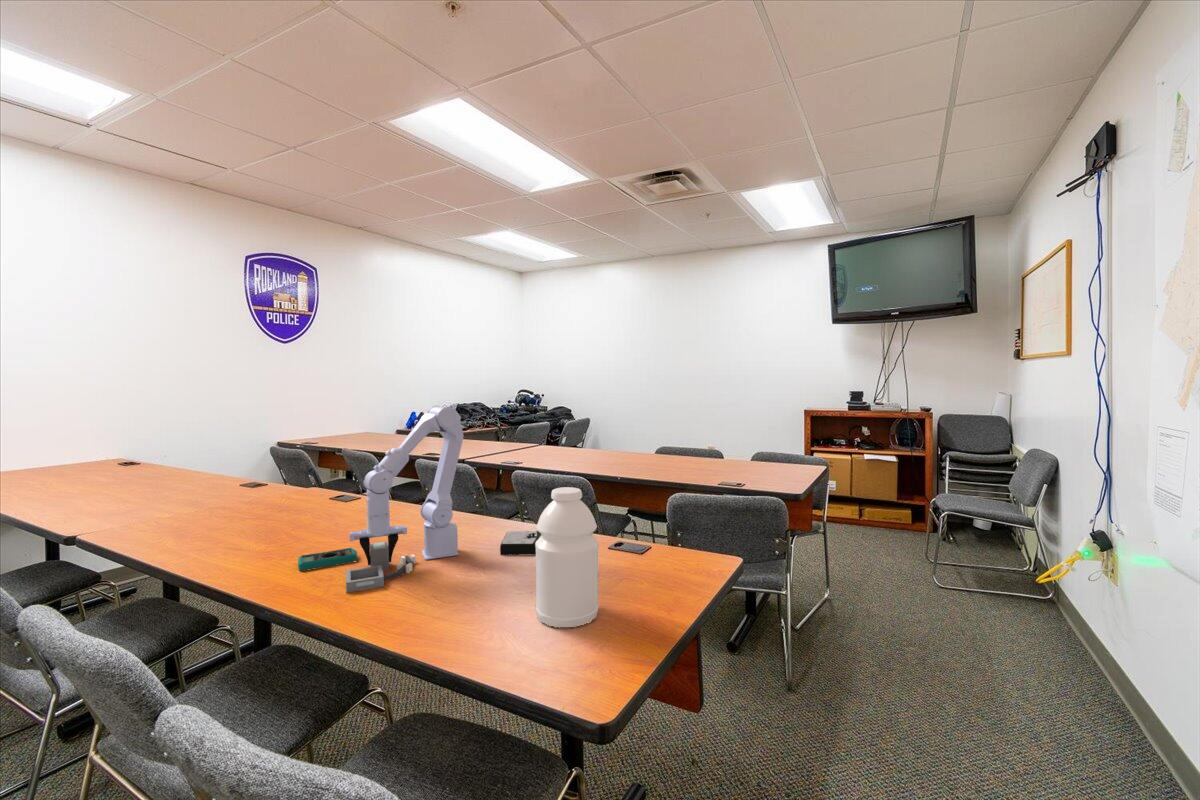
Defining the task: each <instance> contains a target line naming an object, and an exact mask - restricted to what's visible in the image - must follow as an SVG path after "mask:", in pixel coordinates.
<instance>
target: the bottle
mask: <svg viewBox="0 0 1200 800" xmlns="http://www.w3.org/2000/svg"><path fill="white" fill-rule="evenodd" d="M550 497H551V499H552V501H551V502H550V503H548V505H547V506H546V507H545V508H544V509H543V511H542V512H541V514H540V516H539V518H538V521H537V524H536V531H538V532H539V533H540V534H541V537H540V538H539V539H538V540H537V541H536V542H535V547H536V555H535V594H536V595H535V596H536V599H535V601H536V604H535V611H536V619H538V620H539V621H540V623H542V622H543V623H545V624H544V625H546V624H547V625H546V626H548V625H549V626H548V627H551V626H554V627H553V628H557V627H559V628H558V629H561V628H560V627H572V626H578V625H582V624H585V623H587V622H590V621H591V620H592V619H594V618H595V617H596V618H597V616H598V614H599V607H600V604H599V541H598V539H597V538H596V537H595V536H594V534H593V533H594V532H595V531H596V530H597V528H598V525H597V523H596V519H595V516H594V515H593V513H592V512H591V510H590V508H589V507H588V505H586V504H585V502H583V501H582V500H581V499H582V498H583V492H582V489H580V488H578V487H572V486H571V487H570V486H568V487H567V486H564V487H556V488H554V489H552V490H551V494H550ZM597 613H598V614H597ZM596 618H595V619H596ZM595 619H594V620H595ZM543 623H542V624H543ZM590 623H591V622H590Z"/></svg>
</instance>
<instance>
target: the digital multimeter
mask: <svg viewBox="0 0 1200 800" xmlns="http://www.w3.org/2000/svg"><path fill="white" fill-rule="evenodd" d="M354 561H356V562H357V561H358V551H357V550H356V549H354V548H353V547H348V548H347V547H346V548H342V549H335V550H330V551H324V552H317V553H310V554H309V553H308V554H304V555H300V556H299V557H298V558H297V568H298V571H299V570H300V571H299V572H303V571H302V570H306V571H309V570H308V569H311V570H314V569H313V568H317V569H320V568H319V567H322V568H326V567H325V566H328V567H332V566H331V565H333V566H337V565H336V564H339V565H343V564H342V563H345V564H349V563H348V562H352V563H355V562H354Z"/></svg>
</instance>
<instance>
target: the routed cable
mask: <svg viewBox="0 0 1200 800" xmlns="http://www.w3.org/2000/svg"><path fill="white" fill-rule="evenodd" d="M400 560H401V561H400V562H399V563H398V564H396V570H395V571H394V572H389V573H386V574H383V576H384V582H387V581H390V580H393V579H396V577H397V578H399V577H398V576H400V577H402V576H403V575H404V574H405V573H406V574H410V573H411V572H412V571H413V567H414V564H416V561H417V560H416V555H415V554H414V553H413V554H410V556H409V555H401V556H400ZM413 563H414V564H413ZM405 564H406V565H405ZM410 571H411V572H410ZM402 574H403V575H402ZM401 575H402V576H401Z"/></svg>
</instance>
